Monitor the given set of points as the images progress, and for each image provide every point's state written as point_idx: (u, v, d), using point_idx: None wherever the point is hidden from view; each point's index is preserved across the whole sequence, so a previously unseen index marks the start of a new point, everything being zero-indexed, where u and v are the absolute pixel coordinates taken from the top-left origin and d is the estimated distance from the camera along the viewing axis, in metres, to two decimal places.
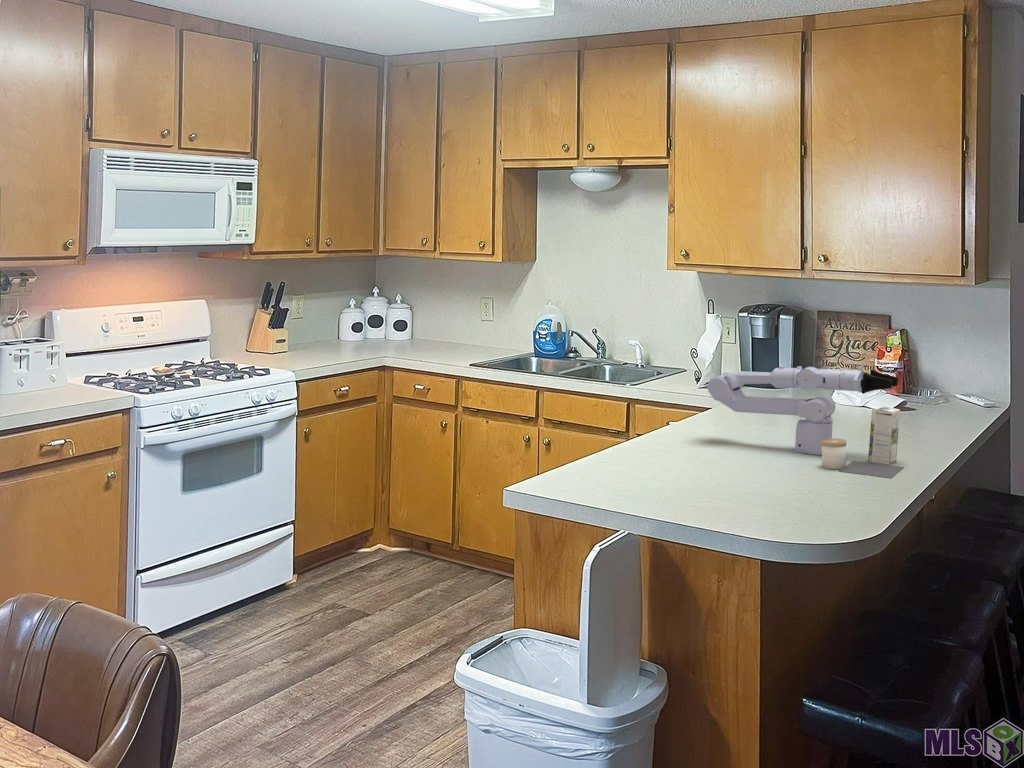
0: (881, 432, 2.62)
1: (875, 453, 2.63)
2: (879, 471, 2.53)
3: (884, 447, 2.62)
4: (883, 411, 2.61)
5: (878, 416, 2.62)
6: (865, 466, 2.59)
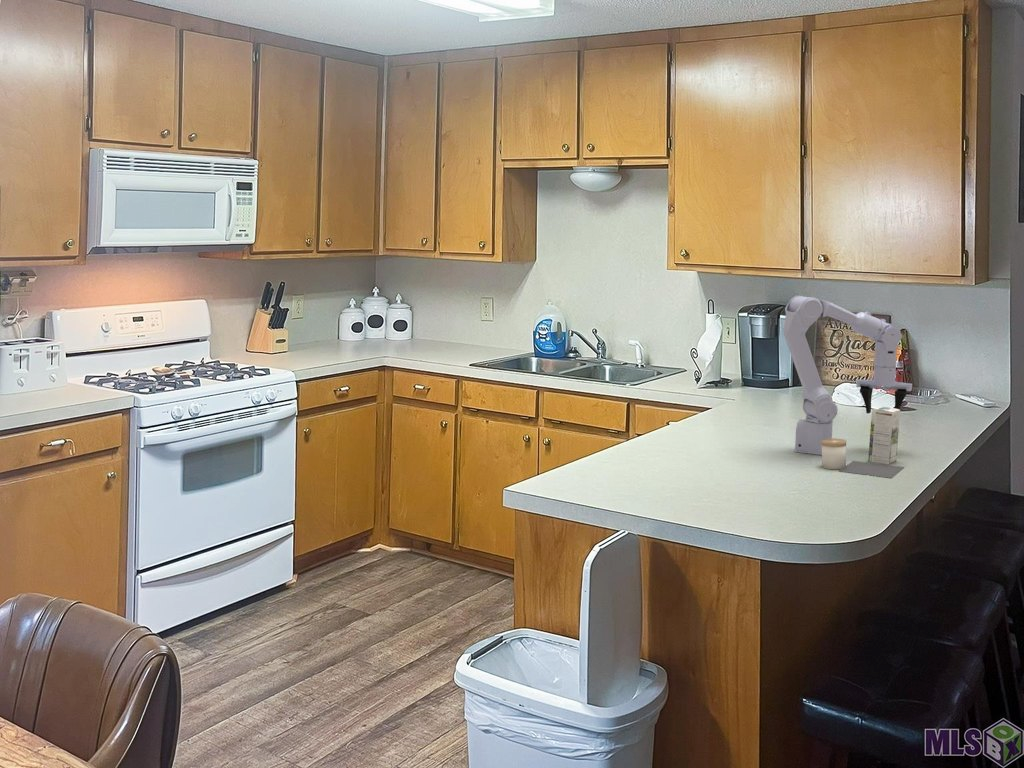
0: (881, 432, 2.62)
1: (875, 453, 2.63)
2: (879, 471, 2.53)
3: (884, 447, 2.62)
4: (883, 411, 2.61)
5: (878, 416, 2.62)
6: (865, 466, 2.59)
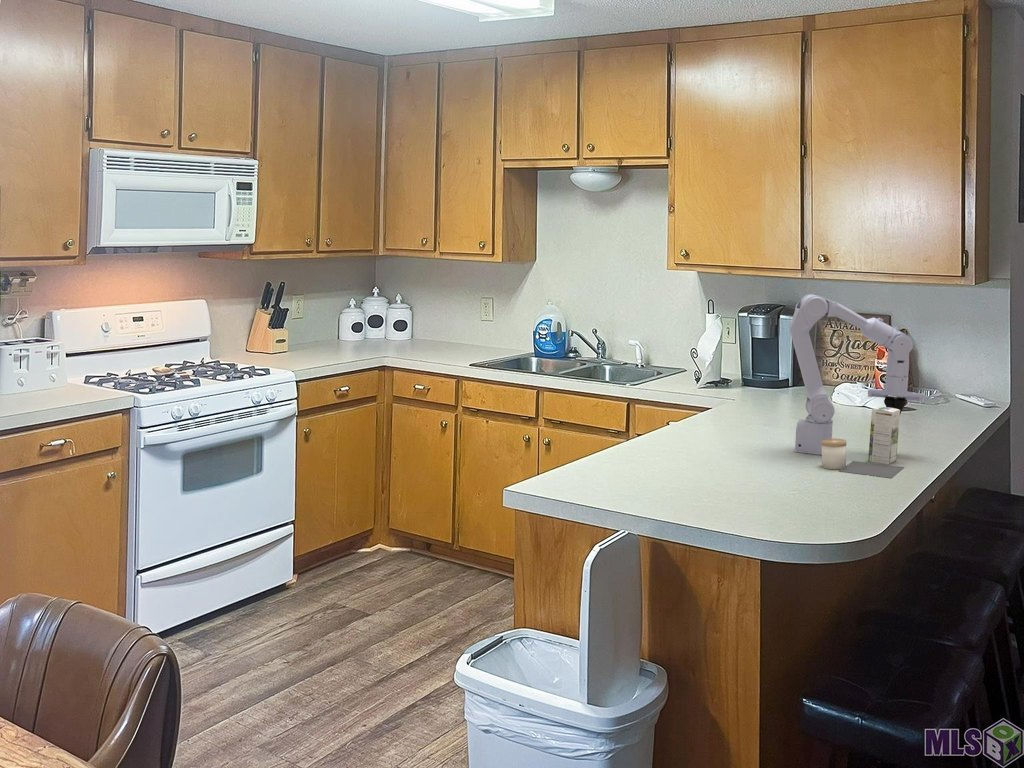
0: (881, 432, 2.62)
1: (875, 453, 2.63)
2: (879, 471, 2.53)
3: (884, 447, 2.62)
4: (883, 411, 2.61)
5: (878, 416, 2.62)
6: (865, 466, 2.59)
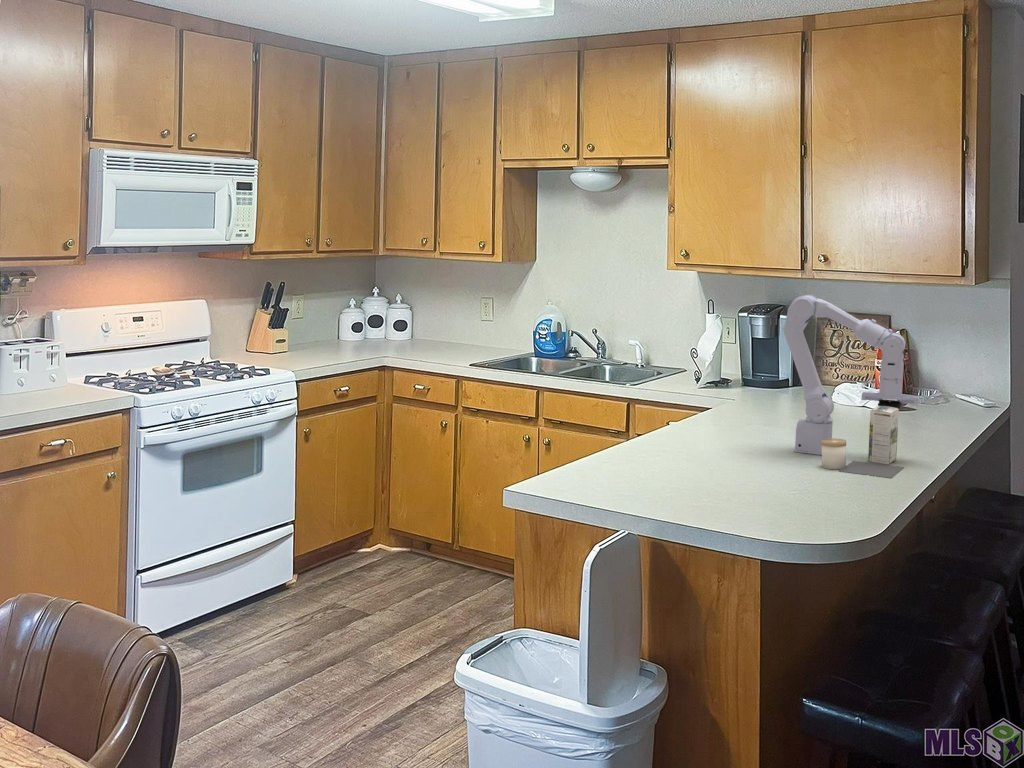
0: (880, 432, 2.61)
1: (874, 453, 2.63)
2: (879, 471, 2.53)
3: (884, 447, 2.61)
4: (881, 412, 2.60)
5: (877, 417, 2.61)
6: (865, 466, 2.59)
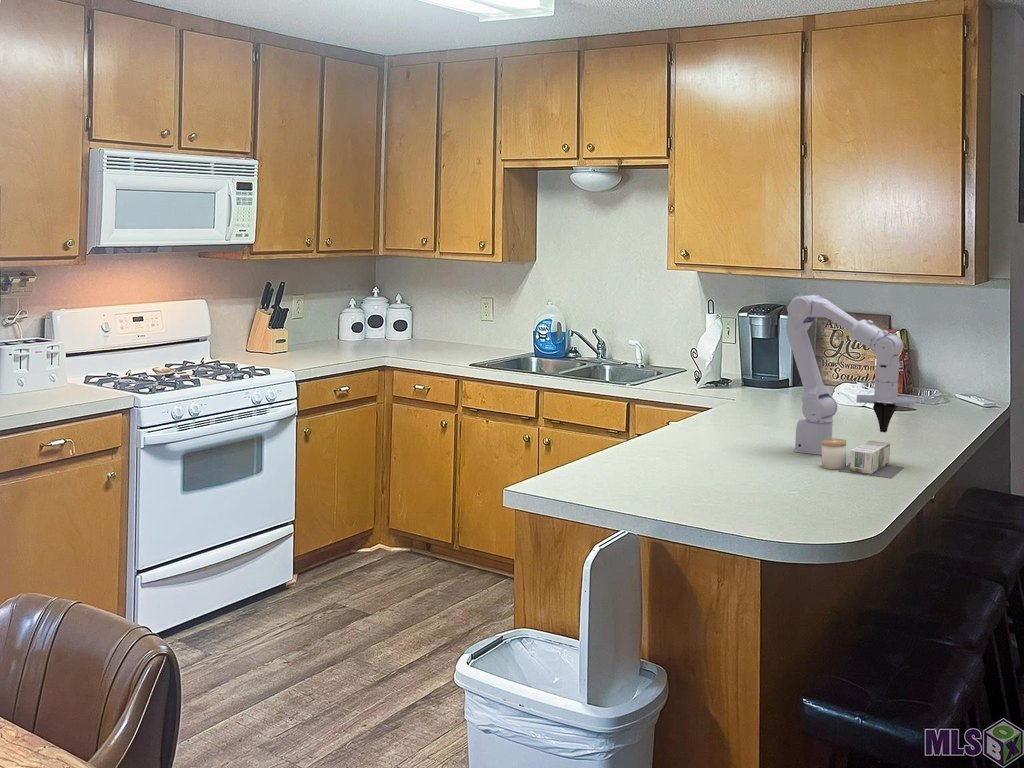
0: None
1: None
2: (879, 471, 2.53)
3: None
4: None
5: None
6: None
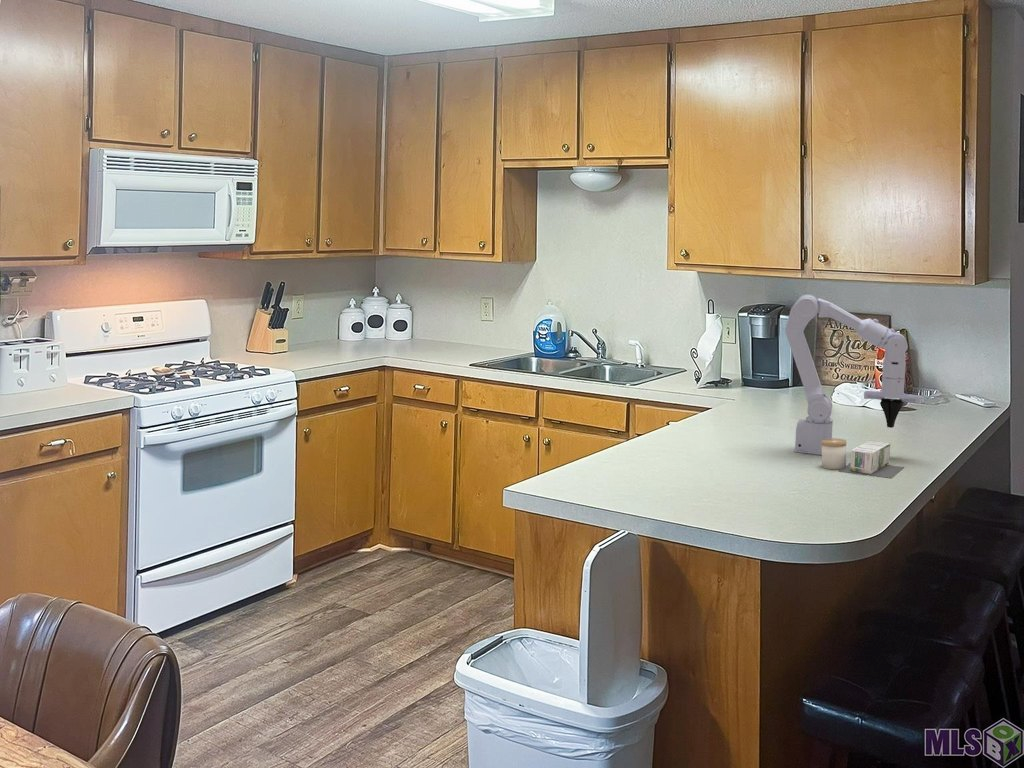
0: None
1: None
2: (879, 471, 2.53)
3: None
4: None
5: None
6: None
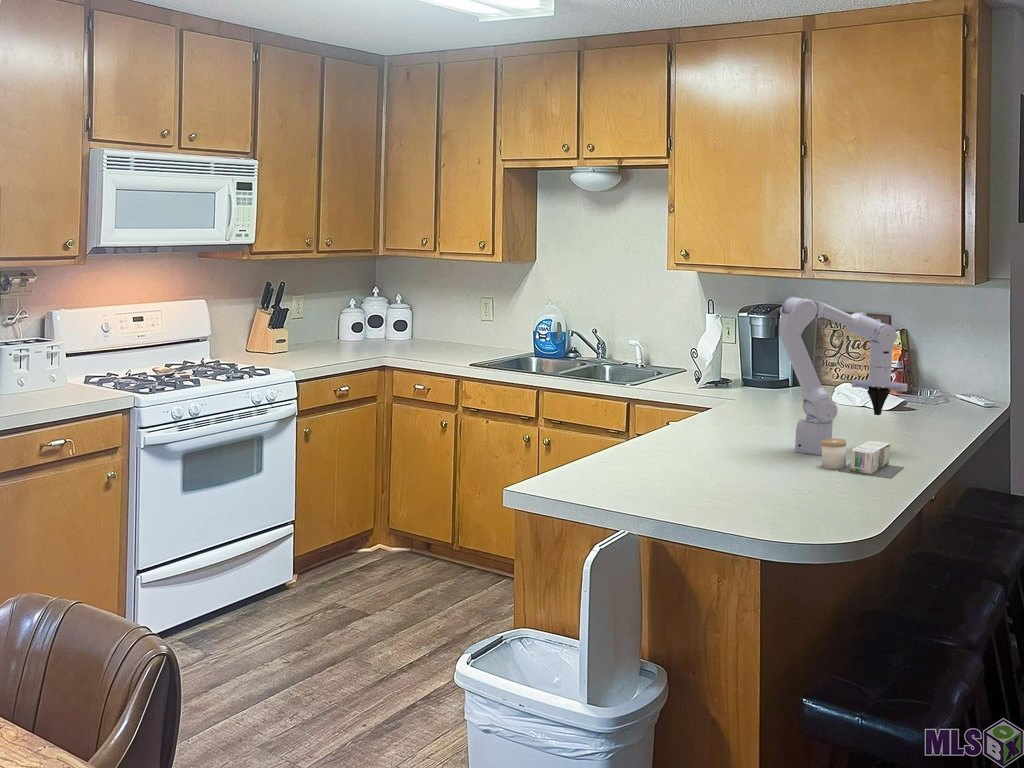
0: None
1: None
2: (879, 471, 2.53)
3: None
4: None
5: None
6: None
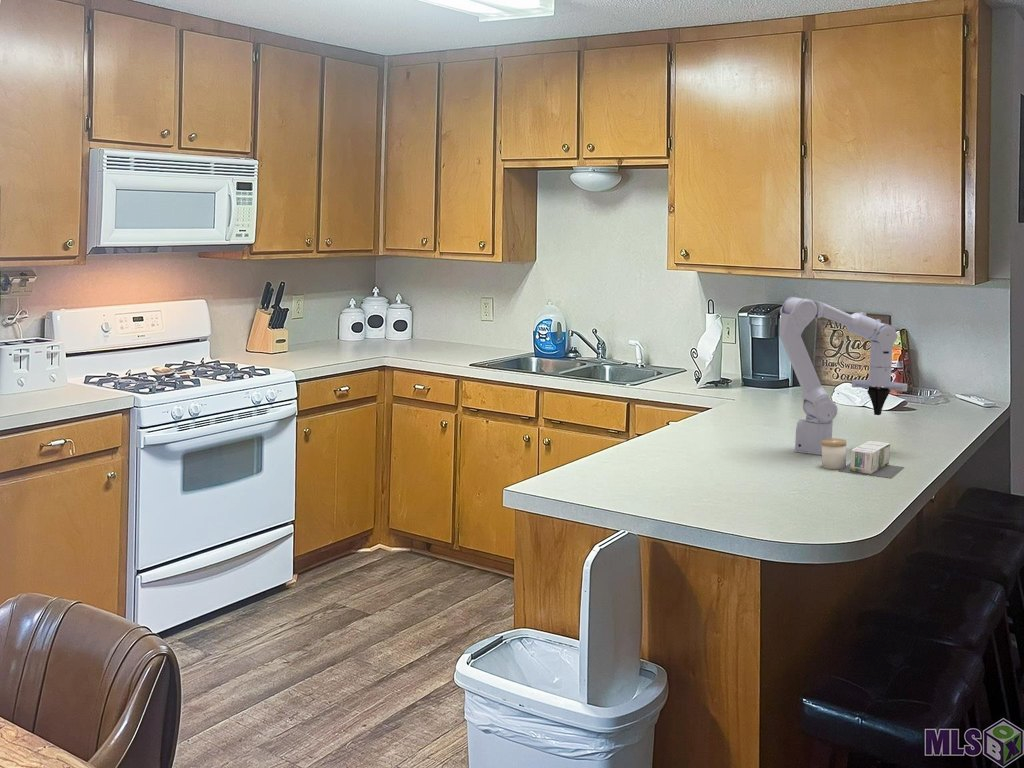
0: None
1: None
2: (879, 471, 2.53)
3: None
4: None
5: None
6: None
